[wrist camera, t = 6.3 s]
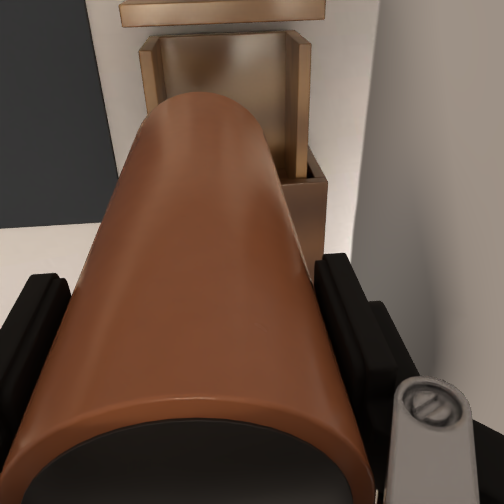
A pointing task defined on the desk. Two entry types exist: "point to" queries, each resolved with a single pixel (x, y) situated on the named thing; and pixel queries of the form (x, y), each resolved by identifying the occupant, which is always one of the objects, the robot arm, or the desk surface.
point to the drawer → (235, 64)
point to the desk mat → (51, 117)
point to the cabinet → (308, 210)
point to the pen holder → (192, 340)
